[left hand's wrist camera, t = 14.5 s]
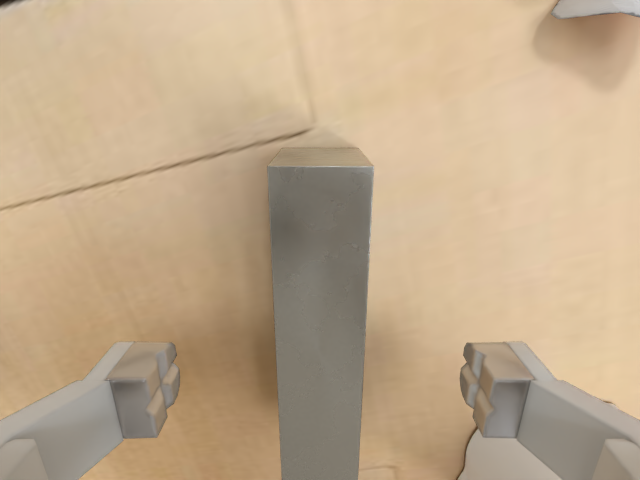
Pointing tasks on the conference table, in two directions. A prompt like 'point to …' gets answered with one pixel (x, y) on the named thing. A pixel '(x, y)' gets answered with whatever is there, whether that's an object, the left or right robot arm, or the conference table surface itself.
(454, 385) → the conference table surface
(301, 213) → the bar
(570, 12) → the fish
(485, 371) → the left robot arm
